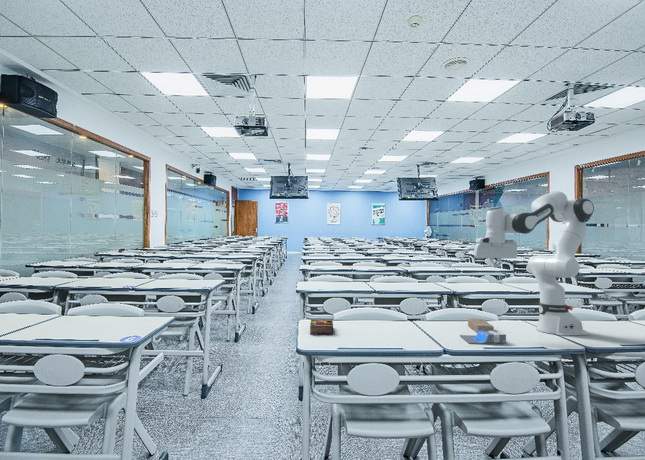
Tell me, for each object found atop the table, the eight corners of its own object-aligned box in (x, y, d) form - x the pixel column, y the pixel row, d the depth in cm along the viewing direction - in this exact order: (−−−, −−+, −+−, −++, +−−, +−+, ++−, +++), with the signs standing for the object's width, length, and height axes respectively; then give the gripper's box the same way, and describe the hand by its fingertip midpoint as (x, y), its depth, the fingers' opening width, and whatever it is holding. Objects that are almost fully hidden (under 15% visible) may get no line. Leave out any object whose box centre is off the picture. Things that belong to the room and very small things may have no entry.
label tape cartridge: (506, 334, 166) (480, 334, 165) (506, 342, 166) (480, 343, 165) (495, 329, 175) (470, 329, 174) (495, 337, 175) (470, 338, 174)
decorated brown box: (332, 327, 195) (332, 318, 195) (333, 335, 178) (333, 325, 179) (310, 327, 195) (310, 318, 195) (309, 335, 178) (309, 325, 179)
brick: (494, 334, 183) (494, 325, 183) (477, 334, 184) (477, 324, 184) (483, 327, 200) (483, 318, 200) (467, 326, 201) (467, 317, 201)
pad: (491, 336, 178) (491, 335, 178) (503, 344, 165) (503, 343, 165) (459, 336, 179) (459, 335, 179) (468, 343, 166) (468, 342, 166)
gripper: (513, 239, 188) (513, 267, 187) (472, 239, 189) (472, 266, 188) (519, 239, 181) (519, 268, 181) (477, 239, 182) (477, 267, 182)
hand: (495, 267), depth 185 cm, fingers closed
